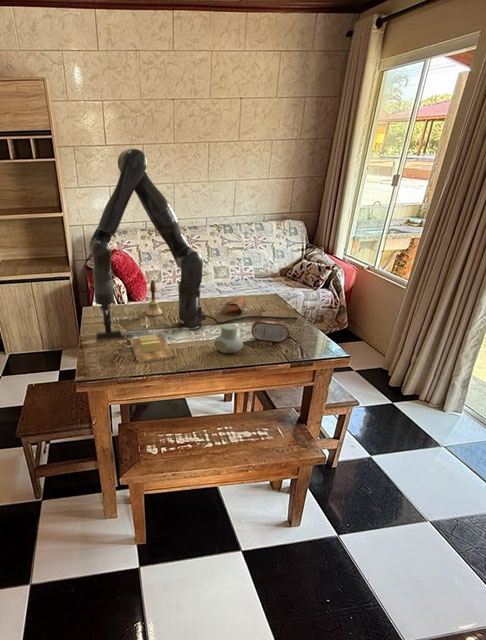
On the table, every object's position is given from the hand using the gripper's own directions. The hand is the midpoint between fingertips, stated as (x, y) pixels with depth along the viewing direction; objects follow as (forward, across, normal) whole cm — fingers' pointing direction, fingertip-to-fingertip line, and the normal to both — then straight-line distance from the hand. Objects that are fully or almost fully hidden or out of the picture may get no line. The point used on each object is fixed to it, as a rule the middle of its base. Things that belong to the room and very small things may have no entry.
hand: (107, 328), depth 169 cm
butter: (+3, -14, -15) cm, 20 cm away
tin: (+4, -20, -63) cm, 67 cm away
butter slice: (+3, -18, -15) cm, 24 cm away
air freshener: (+4, -24, -44) cm, 51 cm away
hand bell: (+5, +25, -24) cm, 35 cm away
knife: (+5, 0, -6) cm, 8 cm away
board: (+5, -15, -15) cm, 22 cm away
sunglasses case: (+4, +19, -63) cm, 66 cm away
